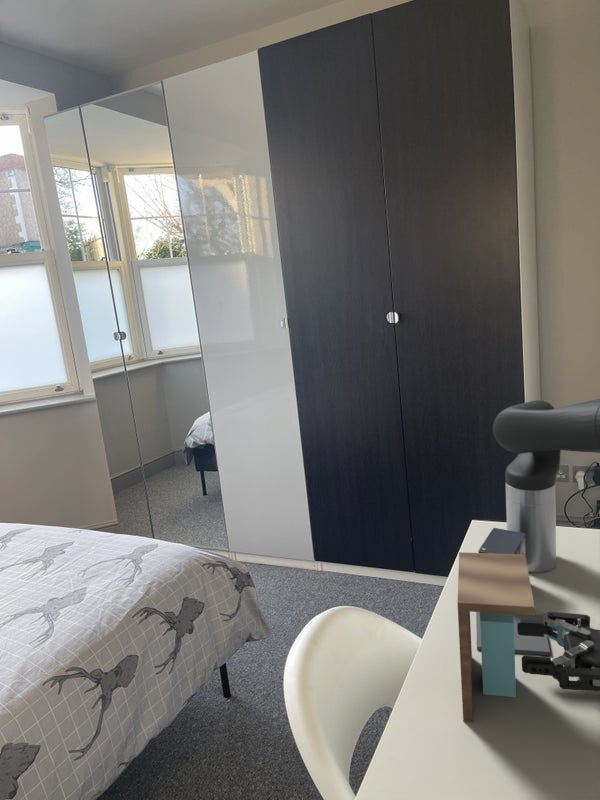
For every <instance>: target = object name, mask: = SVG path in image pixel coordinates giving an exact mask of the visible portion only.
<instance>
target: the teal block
mask: <svg viewBox="0 0 600 800" xmlns="http://www.w3.org/2000/svg"><path fill="white" fill-rule="evenodd" d="M480 628H481V650H480V651H481V672H482V673H481V674H482V677H481V678H482V694H483V695H488V696H498V697H508V698H509V697H511V698H517V691H516V690H517V687H516V684H517V683H516V653H515V646H514V620H513V614H502V613H485V612H480Z"/></svg>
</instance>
